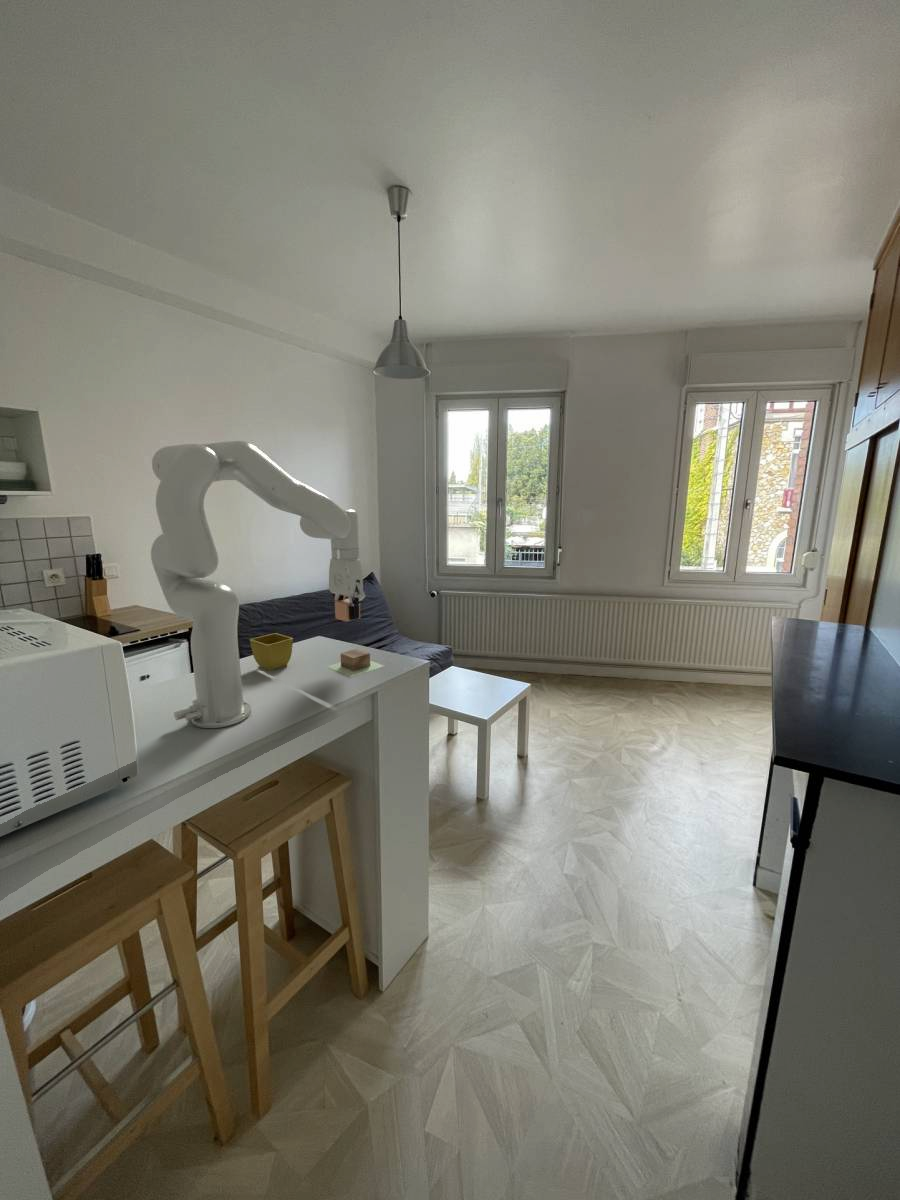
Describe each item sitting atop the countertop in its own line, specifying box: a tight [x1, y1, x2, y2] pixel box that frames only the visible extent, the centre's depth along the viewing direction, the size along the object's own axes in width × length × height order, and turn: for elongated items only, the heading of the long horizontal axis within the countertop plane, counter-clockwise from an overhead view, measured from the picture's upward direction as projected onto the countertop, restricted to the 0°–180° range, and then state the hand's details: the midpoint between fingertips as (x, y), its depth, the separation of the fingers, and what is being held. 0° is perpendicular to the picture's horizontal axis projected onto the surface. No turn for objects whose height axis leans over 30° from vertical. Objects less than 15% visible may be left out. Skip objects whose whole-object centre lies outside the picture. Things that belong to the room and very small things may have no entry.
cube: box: [334, 598, 361, 622], centre depth 140 cm, size 5×5×5 cm
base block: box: [340, 648, 371, 671], centre depth 143 cm, size 6×6×4 cm
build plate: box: [326, 660, 385, 678], centre depth 144 cm, size 12×12×1 cm
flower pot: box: [249, 632, 294, 671], centre depth 143 cm, size 9×9×9 cm
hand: (347, 616), depth 141 cm, fingers closed on cube, 5 cm apart
